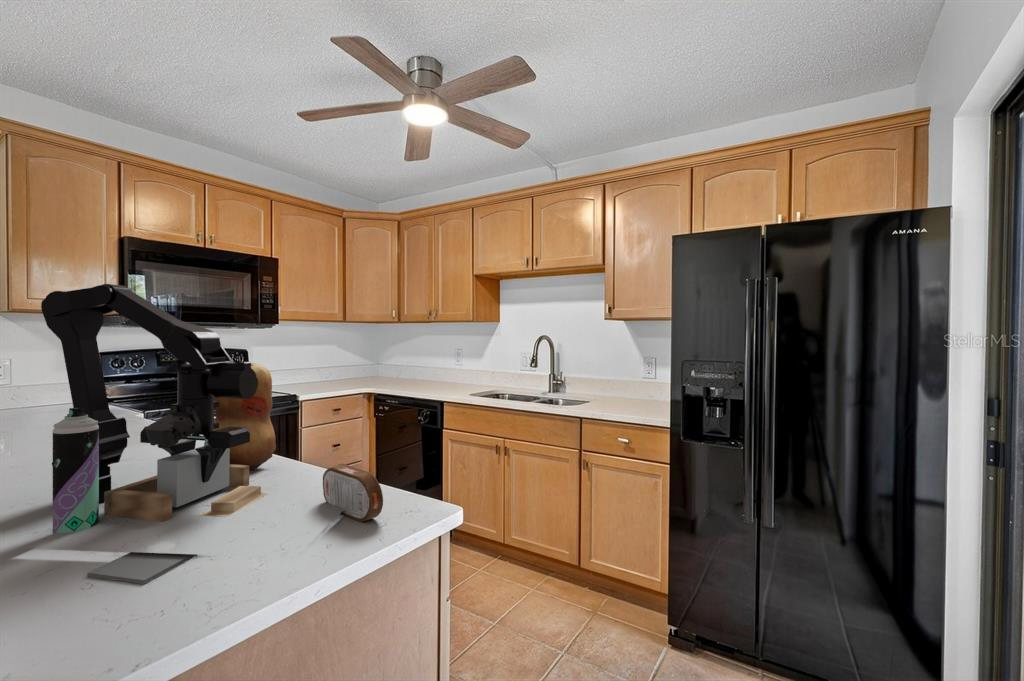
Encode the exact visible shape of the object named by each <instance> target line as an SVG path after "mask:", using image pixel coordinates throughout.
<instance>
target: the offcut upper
mask: <svg viewBox="0 0 1024 681" xmlns="http://www.w3.org/2000/svg"><path fill="white" fill-rule="evenodd" d="M261 493H262V486H261V485H248V486H239V487H236V488H234V489H233V490H231V491H229V492H227V493H226V494H224V495H221V496H220V497H218V498H216V499H215V500H212V501H211V502H210V509H211V512H234V513H236V512H237V511H239V510H241V509H242V508H241V507H243V506H244V505H246V504H247V503H249V502H250V501H252V500H253V499H255V498H256V497H258V496H259V495H261ZM240 508H241V509H240ZM243 508H244V507H243ZM238 509H239V510H238ZM235 511H236V512H235Z"/></svg>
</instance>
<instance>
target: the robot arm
mask: <svg viewBox="0 0 1024 681" xmlns="http://www.w3.org/2000/svg"><path fill="white" fill-rule="evenodd" d="M40 307H41V308H40V309H41V312H42V316H43V318H44V321H45V323H46V326H47V328H48V329H49V330H50V331H51V332H52V333H53V334H54V335H55V336H56V337H57V338H58V339H59V340H60V342H61V348H62V351H63V352H62V353H63V359H64V363H65V368H66V374H67V380H68V385H69V390H70V397H71V401H72V408H84V413H86V415H88V417H89V418H91V419H93V420H97V421H98V424H97V425H98V426H99V503H101V502H104V492H106V491H109V490H112V475H111V466H110V465H112V464H117V463H120V460H121V457H122V455H123V453H124V450H125V449H126V448H127V446H128V439H129V438H131V436H130V434H129V432H128V428H127V419H126V418H125V417H123V416H122V417H119V418H118V417H116V416H115V414H113V413H112V411H111V410H110V406H109V400H108V395H107V390H106V383H105V378H104V372H103V368H102V367H103V366H102V363H101V355H100V351H99V345H98V340H97V338H98V337H97V336H98V335H99V333H100V330H101V329H102V327H103V324H104V316H105V315H107V314H111V313H114V312H115V313H117V314H119V315H120V316H122V317H124V318H125V319H127V320H129V322H132V323H134V324H135V325H136V326H138V327H140V328H142V329H144V331H147V332H148V333H150V334H152V335H153V336H155V337H156V338H157V339H158V340H160V342H161V345H162V347H163V348H164V350H166V351H167V352H168V353H169V354H170V355H172V356H173V357H174V358H175V359H176V360H174V362H173V363H172V364H171V365H170V366H168V367H167V368H165V373H168V374H177V396H176V397H177V402H176V403H172V404H171V406H170V408H169V414H167V415H166V416H162V417H161V418H159V419H157V420H156V421H154V422H152V423H151V424H149V425H147V426H144V428H142V429H141V430H140V435H139V436H140V443H142V444H150V445H151V446H157V447H158V448H159V449H162V450H163V451H165V452H167V453H168V454H169V456H172V455H176V454H179V453H183V452H187V451H190V450H194V449H195V450H196V451H197V452H198V453H199V454H200V455H201V476H202V482H203V483H205V482H208V481H209V479H210V478H211V476H212V474H213V472H214V470H215V468H216V466H217V464H218V462H219V460H220V458H221V457H222V455H223V454H224V452H225V451H226V449H227V448H232V447H235V446H238V445H241V444H245V443H248V442H250V431H249V430H248V429H247V428H245V427H227V428H223V429H219V430H215V431H214V429H217V428H219V423H215V407H219V401H214V397H216V398H232V399H250V398H251V397H253V396H254V394H255V393H256V390H257V387H258V378H257V377H256V373H255V372H254V370H253V369H251V363H252V362H251V361H240V362H234V361H233V359H232V358H231V356H230V355H229V354H228V352H227V351H226V350H225V348H224V346H223V345H222V343H221V341H220V340H221V338H220V336H219V335H218V333H216V332H215V331H213V330H212V329H209V328H206V327H203V326H200V325H197V324H194V323H190V322H186V321H183V320H181V319H178V318H177V317H175V316H174V315H172V314H170V313H169V312H166V311H165V310H163V309H162V308H160V307H159V306H157V305H155V304H153V303H152V302H150V301H149V300H147V299H145V298H144V297H142V296H140V295H138V294H137V293H136V292H134V291H133V290H132V289H131V288H129V286H126V285H120V284H110V283H103V284H99V285H95V286H91V287H88V288H87V287H86V288H80V289H79V288H78V289H74V290H73V289H72V290H65V291H63V290H54V291H51V292H50V293H48V294H47V295H46V296H45V298H44V299H42V301H41V304H40ZM197 441H202V442H203V441H204V443H203V445H202V446H199V447H196V445H197ZM51 466H52V467H53V461H52V463H51Z"/></svg>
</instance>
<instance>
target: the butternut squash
mask: <svg viewBox="0 0 1024 681" xmlns="http://www.w3.org/2000/svg"><path fill="white" fill-rule="evenodd" d="M251 369H253V370H254V372H255V373H256V377H257V378H258V387H257V390H256V393H255V394H254V396H253V397H251V398H250V399H232V398H216V397H214V401H219V407H214V414H215V421H214V423H219V428H217V429H214V431H215V430H219V429H223V428H227V427H245V428H247V429H248V430H249V431H250V442H248V443H245V444H241V445H238V446H235V447H232V448H230V464H235V465H247V466H249V471H254V470H255V469H257V468H259V467H260V466H262V465H263V464H264V463H266V462H267V461H269V460H270V459H271V458H272V457H273V454H274V452H275V451H276V450H277V445H276V434H275V433H276V432H275V429H274V426H273V423H272V421H271V415H270V414H271V410H272V409H273V404H274V403H273V392H272V391H273V379H272V375H271V374H272V373H270V372H271V371H270V370H269V368H267V367H266V366H264V365H262V364H260V363H255V362H251Z"/></svg>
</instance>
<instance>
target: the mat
mask: <svg viewBox="0 0 1024 681" xmlns="http://www.w3.org/2000/svg"><path fill="white" fill-rule="evenodd" d="M196 556H198V554H194V553H193V554H192V553H189V554H187V553H167V552H166V553H165V552H162V553H161V552H143V551H140V552H137V551H131V552H128V553H126V554H124V555H122V556H120V557H118V558H115V559H114V560H111V561H109V562H107V563H105V564H103V565H100V566H98V567H97V568H94V569H92V570H90V571H87V573H86V575H87V577H90V578H97V579H105V580H113V581H120V582H126V583H133V584H140V583H141V585H146V584H147V583H149V582H151V581H153V580H155V579H157V578H159V577H160V576H162V575H164V574H166V573H167V572H170V571H171V570H173V569H175V568H176V567H178V566H180V565H182V564H184V563H185V562H187V561H190V560H191V559H192V558H193V559H194V558H195V557H196Z"/></svg>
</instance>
